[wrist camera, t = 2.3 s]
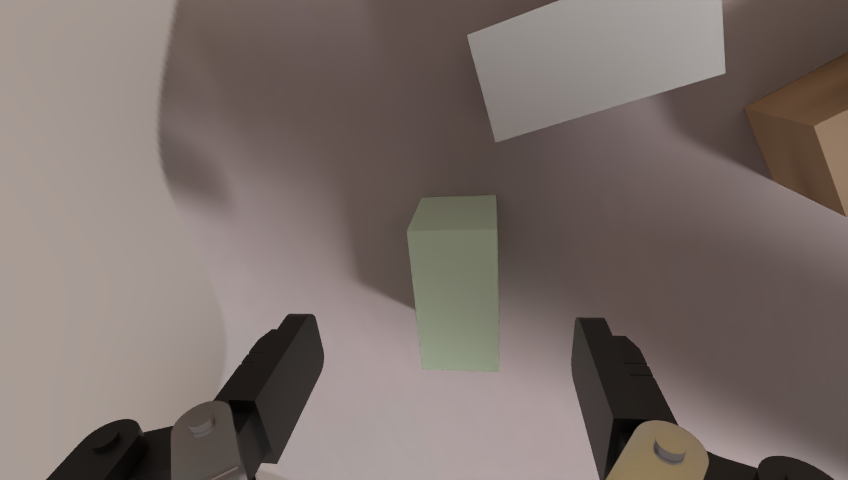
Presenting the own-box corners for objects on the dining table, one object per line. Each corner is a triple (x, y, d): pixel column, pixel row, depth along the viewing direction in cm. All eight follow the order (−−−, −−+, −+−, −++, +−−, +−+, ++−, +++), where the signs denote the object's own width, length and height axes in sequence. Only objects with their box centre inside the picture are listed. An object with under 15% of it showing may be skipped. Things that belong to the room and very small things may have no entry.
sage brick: (422, 196, 17) (406, 231, 14) (496, 193, 16) (497, 229, 13) (433, 316, 19) (422, 369, 16) (498, 317, 19) (499, 371, 16)
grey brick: (662, -35, 13) (718, -60, 9) (672, 66, 14) (725, 73, 11) (471, 36, 14) (466, 35, 11) (494, 121, 15) (495, 142, 12)
